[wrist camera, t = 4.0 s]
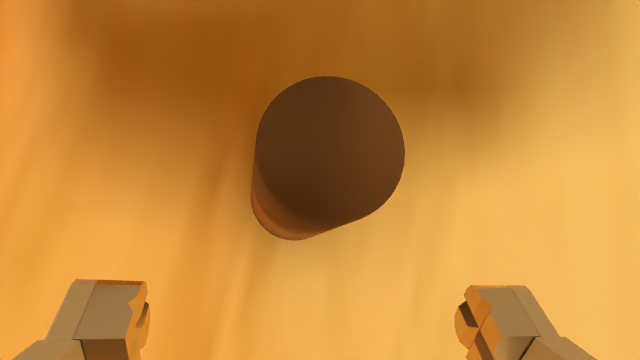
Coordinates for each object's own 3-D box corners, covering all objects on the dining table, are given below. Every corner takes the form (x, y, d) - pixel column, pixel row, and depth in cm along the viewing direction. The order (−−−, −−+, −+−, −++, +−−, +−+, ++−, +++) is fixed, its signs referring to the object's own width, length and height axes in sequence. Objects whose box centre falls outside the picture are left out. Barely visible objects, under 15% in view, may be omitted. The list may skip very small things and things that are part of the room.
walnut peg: (337, 157, 21) (403, 83, 12) (336, 241, 20) (405, 226, 12) (252, 151, 20) (259, 69, 12) (248, 238, 20) (252, 221, 11)
